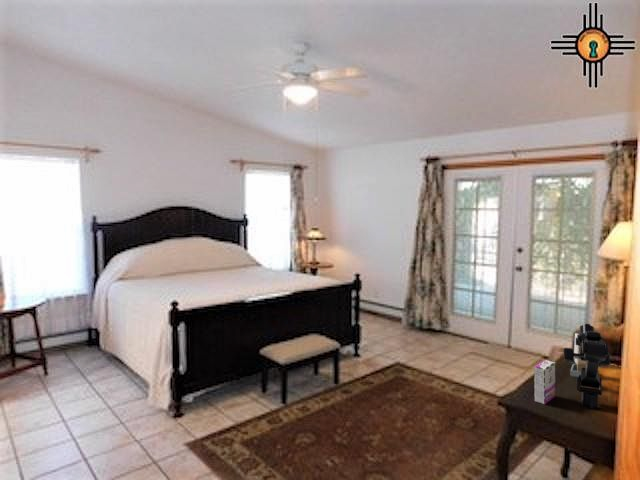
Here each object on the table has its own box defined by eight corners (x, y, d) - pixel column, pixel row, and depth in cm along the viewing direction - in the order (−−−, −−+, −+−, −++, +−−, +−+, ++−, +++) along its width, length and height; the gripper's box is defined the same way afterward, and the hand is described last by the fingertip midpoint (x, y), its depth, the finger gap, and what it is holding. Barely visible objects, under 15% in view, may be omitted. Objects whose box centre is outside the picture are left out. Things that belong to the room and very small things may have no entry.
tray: (594, 380, 211) (594, 375, 210) (570, 376, 217) (570, 370, 217) (596, 373, 219) (596, 367, 219) (572, 369, 225) (572, 363, 225)
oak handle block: (589, 376, 214) (590, 351, 213) (577, 374, 217) (578, 350, 215) (588, 372, 219) (589, 348, 218) (577, 371, 221) (577, 346, 220)
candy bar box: (544, 393, 200) (544, 359, 198) (555, 396, 196) (556, 362, 194) (533, 401, 193) (533, 366, 191) (544, 405, 189) (545, 369, 187)
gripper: (610, 336, 199) (606, 351, 210) (564, 332, 208) (562, 346, 219) (611, 358, 193) (608, 373, 204) (564, 353, 202) (563, 367, 213)
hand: (584, 364), depth 210 cm, fingers open, 9 cm apart
